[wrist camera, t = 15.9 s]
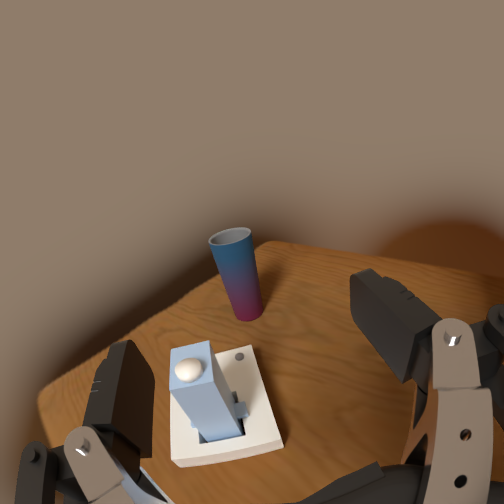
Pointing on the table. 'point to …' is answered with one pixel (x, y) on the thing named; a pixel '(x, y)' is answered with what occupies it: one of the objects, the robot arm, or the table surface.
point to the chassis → (256, 425)
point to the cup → (238, 271)
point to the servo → (205, 393)
